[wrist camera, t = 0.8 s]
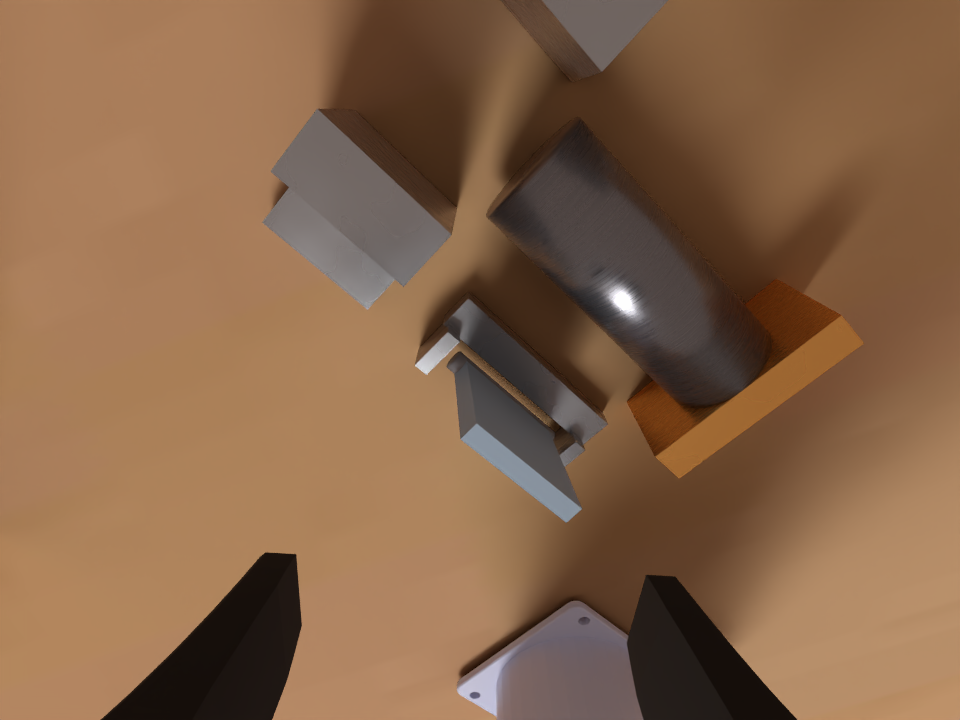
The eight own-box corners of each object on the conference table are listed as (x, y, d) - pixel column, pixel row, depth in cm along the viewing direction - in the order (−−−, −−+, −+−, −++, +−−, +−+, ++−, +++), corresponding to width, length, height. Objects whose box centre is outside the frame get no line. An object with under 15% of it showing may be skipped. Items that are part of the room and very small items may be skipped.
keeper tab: (552, 427, 19) (590, 513, 15) (539, 440, 20) (572, 529, 15) (460, 348, 18) (469, 414, 13) (446, 363, 18) (450, 433, 13)
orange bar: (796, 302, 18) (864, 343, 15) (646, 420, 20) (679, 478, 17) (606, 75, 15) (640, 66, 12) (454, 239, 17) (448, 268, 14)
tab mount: (602, 412, 20) (611, 433, 18) (549, 457, 20) (554, 479, 19) (468, 291, 18) (468, 304, 16) (415, 345, 18) (411, 362, 17)
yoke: (691, -50, 14) (768, -109, 10) (371, 301, 18) (345, 349, 14) (589, -193, 13) (635, -317, 9) (271, 217, 17) (214, 246, 13)
